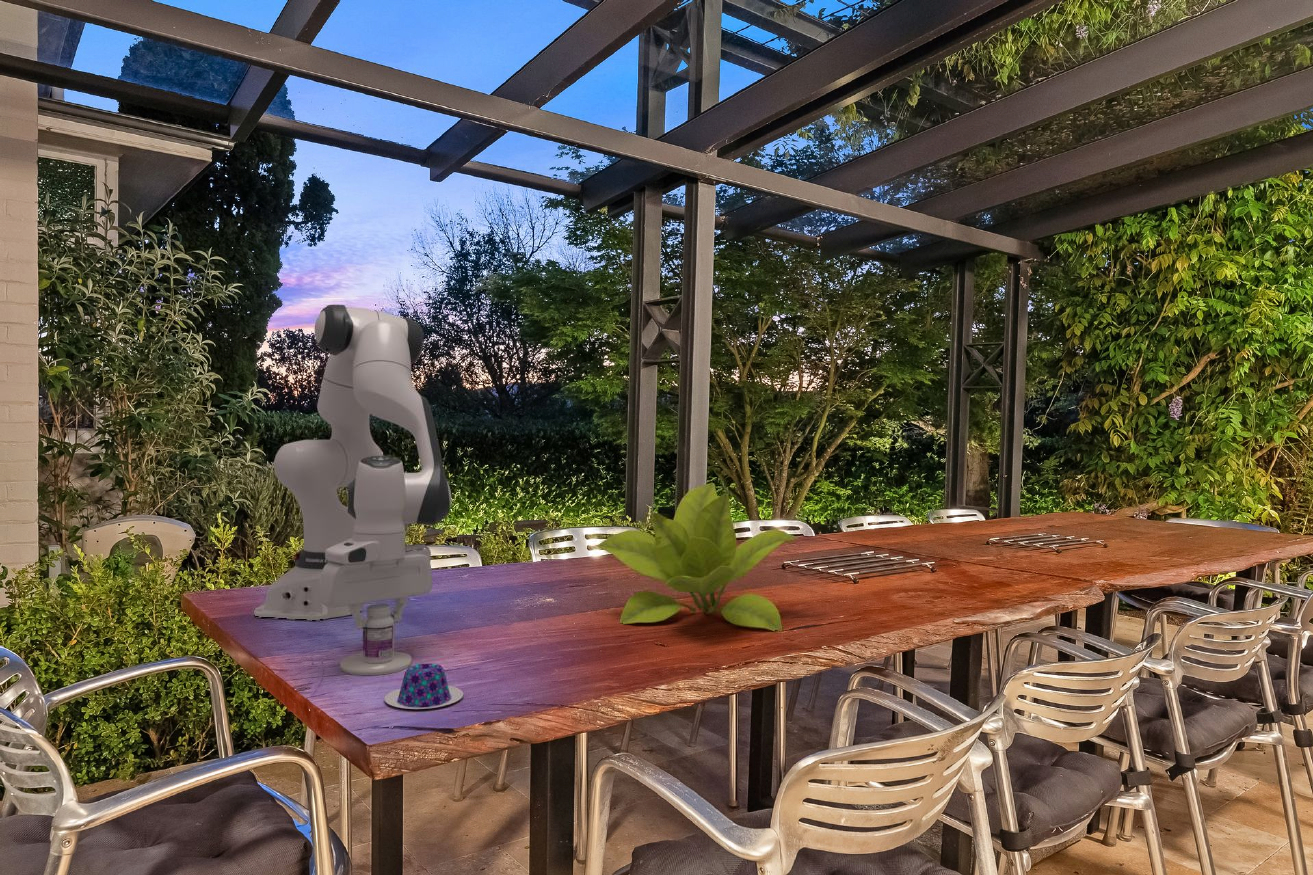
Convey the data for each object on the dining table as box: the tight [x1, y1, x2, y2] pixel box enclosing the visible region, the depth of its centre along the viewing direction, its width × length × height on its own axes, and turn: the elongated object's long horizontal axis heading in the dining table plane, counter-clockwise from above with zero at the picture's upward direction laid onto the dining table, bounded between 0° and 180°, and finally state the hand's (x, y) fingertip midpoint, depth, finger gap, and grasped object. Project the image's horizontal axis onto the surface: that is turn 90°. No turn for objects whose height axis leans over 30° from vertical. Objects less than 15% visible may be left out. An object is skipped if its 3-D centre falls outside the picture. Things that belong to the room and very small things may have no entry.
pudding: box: [383, 662, 464, 710], centre depth 132 cm, size 12×12×5 cm
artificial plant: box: [597, 482, 799, 632], centre depth 191 cm, size 42×43×30 cm
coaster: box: [339, 650, 412, 676], centre depth 150 cm, size 12×12×1 cm
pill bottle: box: [362, 603, 395, 664], centre depth 149 cm, size 5×5×10 cm
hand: (378, 625), depth 149 cm, fingers closed on pill bottle, 5 cm apart
